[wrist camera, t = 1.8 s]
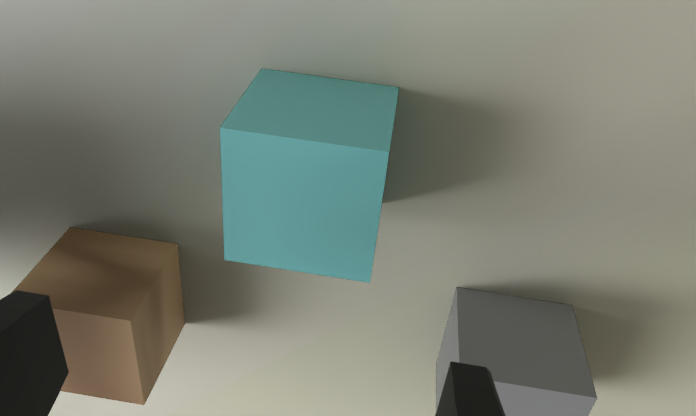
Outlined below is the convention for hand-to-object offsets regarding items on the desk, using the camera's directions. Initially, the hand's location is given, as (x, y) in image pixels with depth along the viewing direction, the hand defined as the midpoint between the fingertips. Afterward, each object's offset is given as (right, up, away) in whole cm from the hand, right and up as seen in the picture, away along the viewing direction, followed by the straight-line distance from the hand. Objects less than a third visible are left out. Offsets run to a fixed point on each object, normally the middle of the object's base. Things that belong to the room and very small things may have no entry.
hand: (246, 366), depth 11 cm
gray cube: (+7, -2, +11) cm, 13 cm away
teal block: (+1, +5, +7) cm, 9 cm away
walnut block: (-6, 0, +12) cm, 13 cm away
